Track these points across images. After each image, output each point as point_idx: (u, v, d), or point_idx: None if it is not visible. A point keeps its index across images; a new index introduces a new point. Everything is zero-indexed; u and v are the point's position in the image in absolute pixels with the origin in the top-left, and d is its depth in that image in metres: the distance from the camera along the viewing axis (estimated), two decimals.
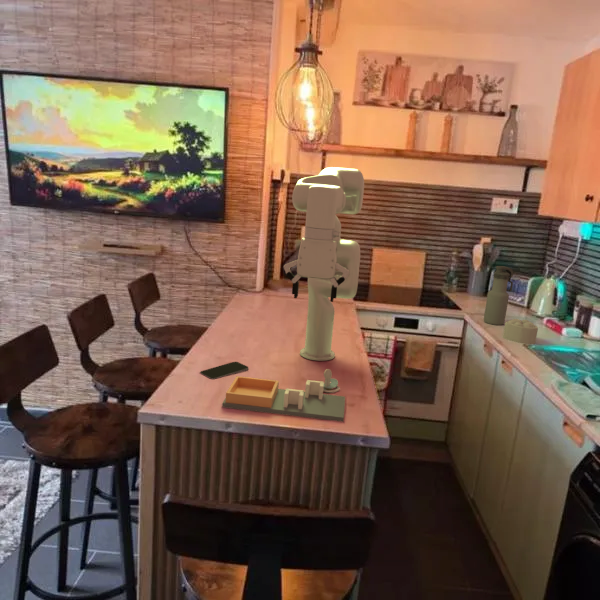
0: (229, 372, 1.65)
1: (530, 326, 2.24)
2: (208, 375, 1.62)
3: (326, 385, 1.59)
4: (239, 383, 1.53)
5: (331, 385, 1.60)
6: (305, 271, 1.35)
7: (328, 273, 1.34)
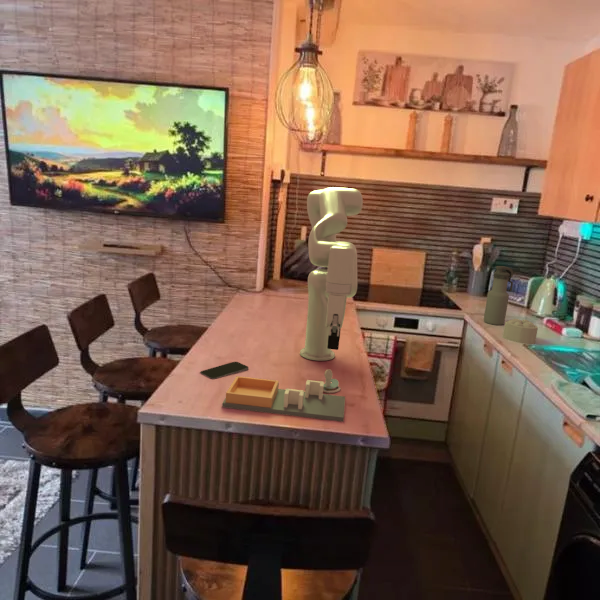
0: (229, 372, 1.65)
1: (530, 326, 2.24)
2: (208, 375, 1.62)
3: (327, 385, 1.59)
4: (239, 383, 1.53)
5: (332, 385, 1.60)
6: None
7: None
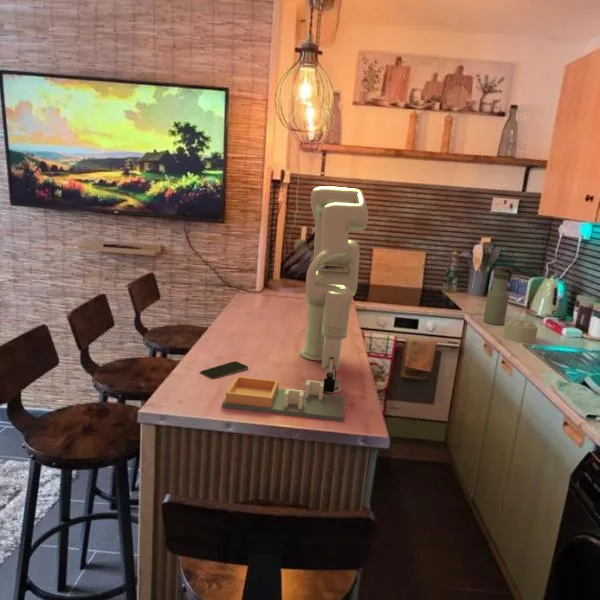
0: (229, 372, 1.65)
1: (530, 326, 2.24)
2: (208, 375, 1.62)
3: None
4: (239, 383, 1.53)
5: None
6: (338, 364, 1.55)
7: None
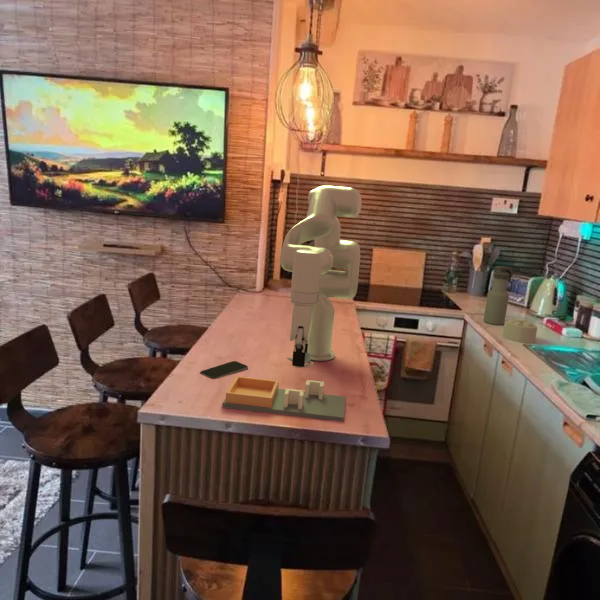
0: (229, 371, 1.66)
1: (530, 326, 2.25)
2: (208, 375, 1.62)
3: None
4: (239, 383, 1.53)
5: None
6: (309, 335, 1.36)
7: None
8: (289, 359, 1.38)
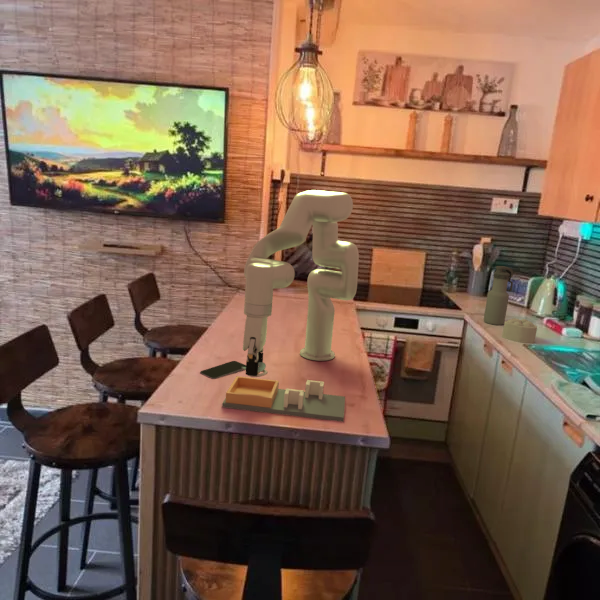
0: (229, 371, 1.66)
1: (529, 325, 2.25)
2: (209, 375, 1.62)
3: None
4: (239, 383, 1.53)
5: (258, 369, 1.46)
6: (261, 345, 1.41)
7: (265, 339, 1.47)
8: (243, 368, 1.43)
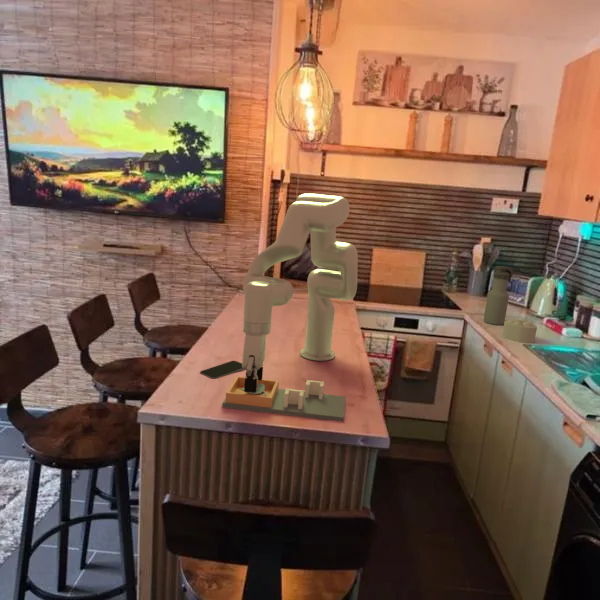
0: (229, 371, 1.66)
1: (529, 325, 2.25)
2: (209, 375, 1.62)
3: None
4: (239, 383, 1.53)
5: (257, 390, 1.48)
6: (260, 363, 1.42)
7: (264, 356, 1.48)
8: (242, 390, 1.45)
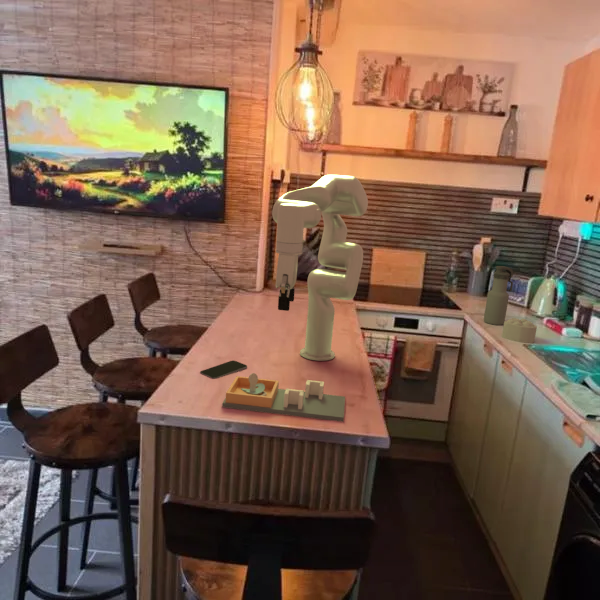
0: (229, 371, 1.66)
1: (529, 325, 2.25)
2: (209, 375, 1.62)
3: (251, 390, 1.47)
4: (239, 383, 1.53)
5: (257, 390, 1.48)
6: (293, 283, 1.48)
7: None
8: (242, 390, 1.45)
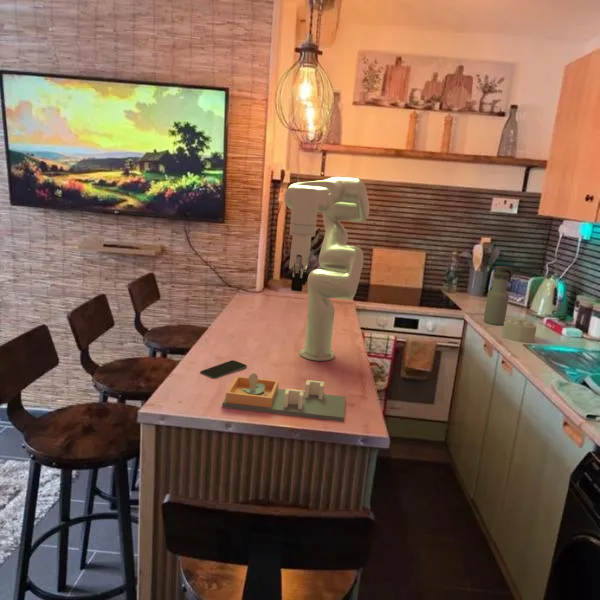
0: (229, 371, 1.66)
1: (529, 325, 2.25)
2: (209, 375, 1.62)
3: (251, 390, 1.47)
4: (239, 383, 1.53)
5: (257, 390, 1.48)
6: (306, 264, 1.51)
7: None
8: (242, 390, 1.45)
